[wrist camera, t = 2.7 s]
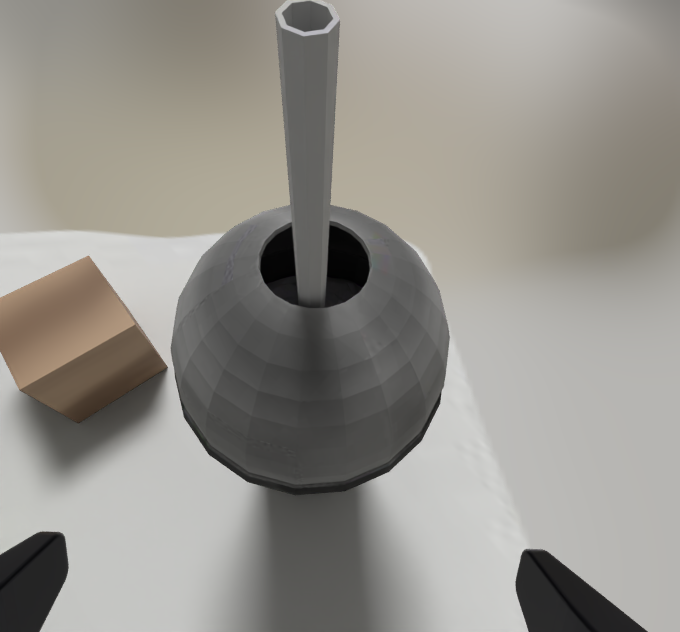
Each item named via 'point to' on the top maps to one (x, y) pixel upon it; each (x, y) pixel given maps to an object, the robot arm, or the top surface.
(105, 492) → the top surface
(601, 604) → the robot arm
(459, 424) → the top surface
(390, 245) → the beverage cup
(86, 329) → the walnut block
